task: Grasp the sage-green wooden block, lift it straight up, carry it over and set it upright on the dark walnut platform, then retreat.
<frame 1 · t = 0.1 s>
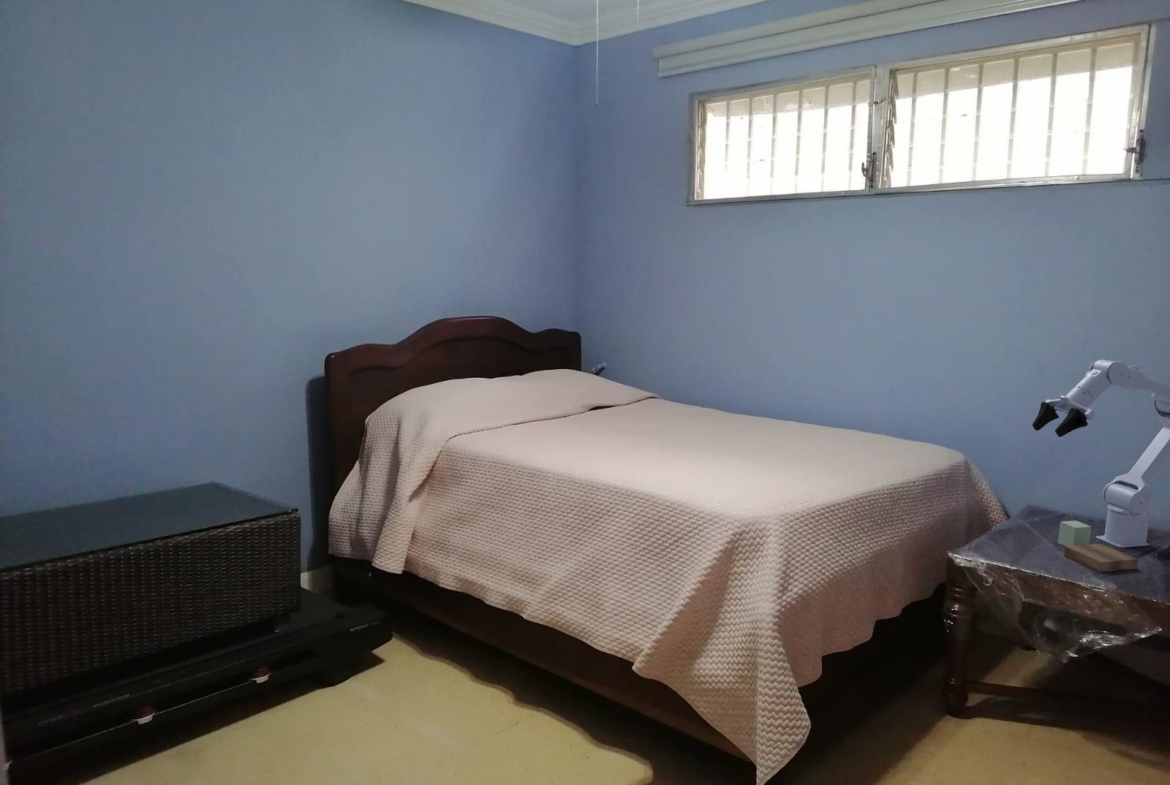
hand: (1045, 431, 209), 32 cm above the table, fingers open, 7 cm apart
walnut platform: (1099, 562, 205), on the table
green block: (1073, 545, 217), on the table
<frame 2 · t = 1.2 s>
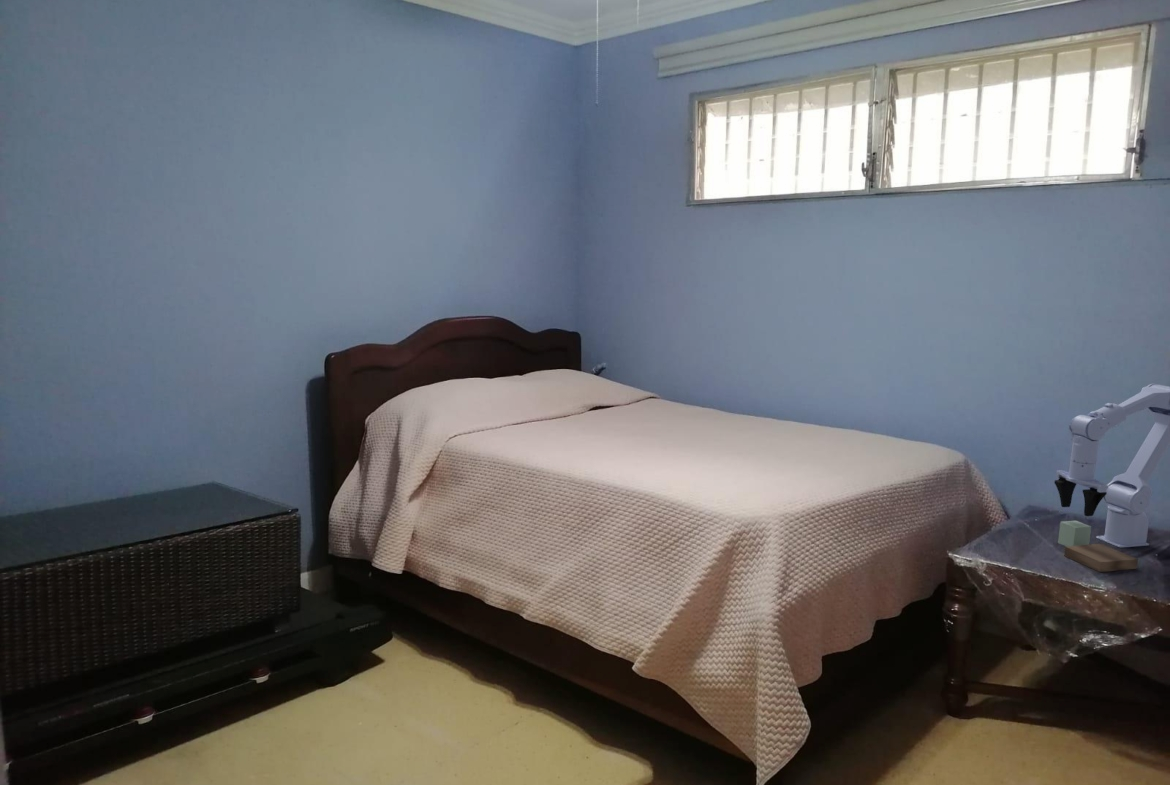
hand: (1076, 511, 215), 9 cm above the table, fingers open, 7 cm apart
nothing on the table moved.
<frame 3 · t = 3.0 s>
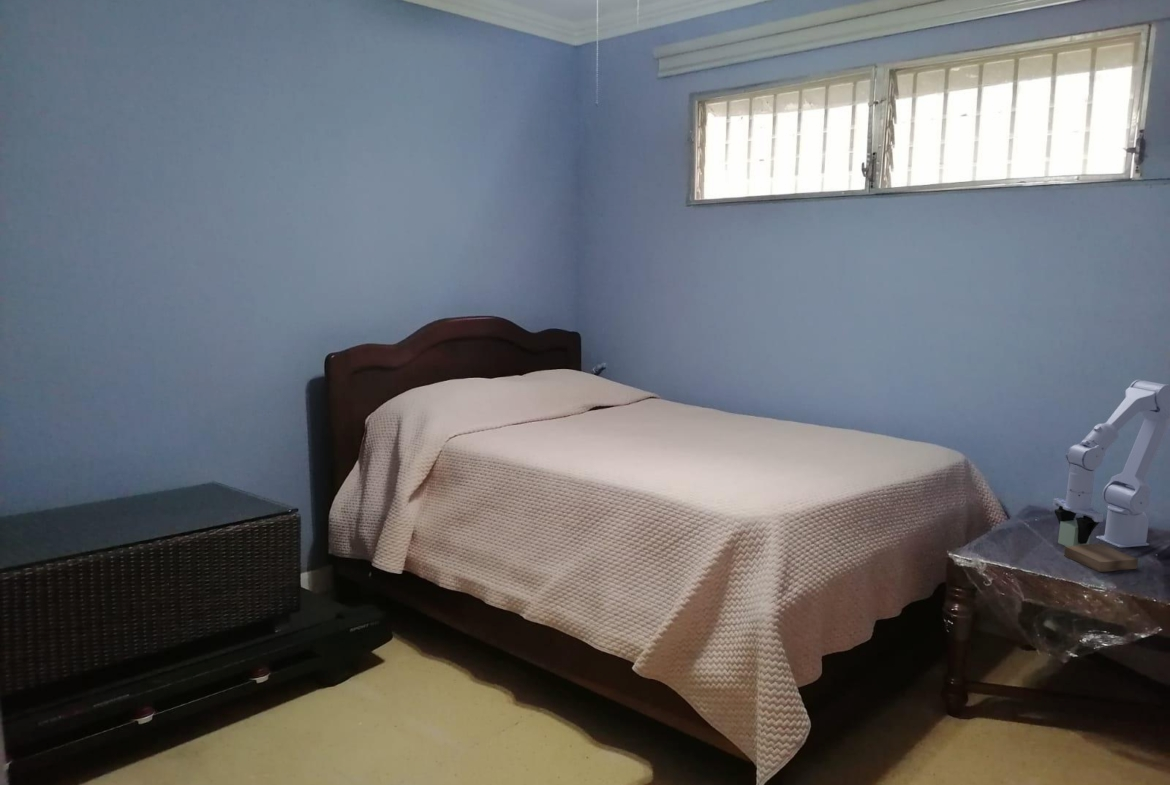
hand: (1073, 539, 216), 2 cm above the table, fingers closed on green block, 5 cm apart
green block: (1073, 545, 217), on the table, touching gripper
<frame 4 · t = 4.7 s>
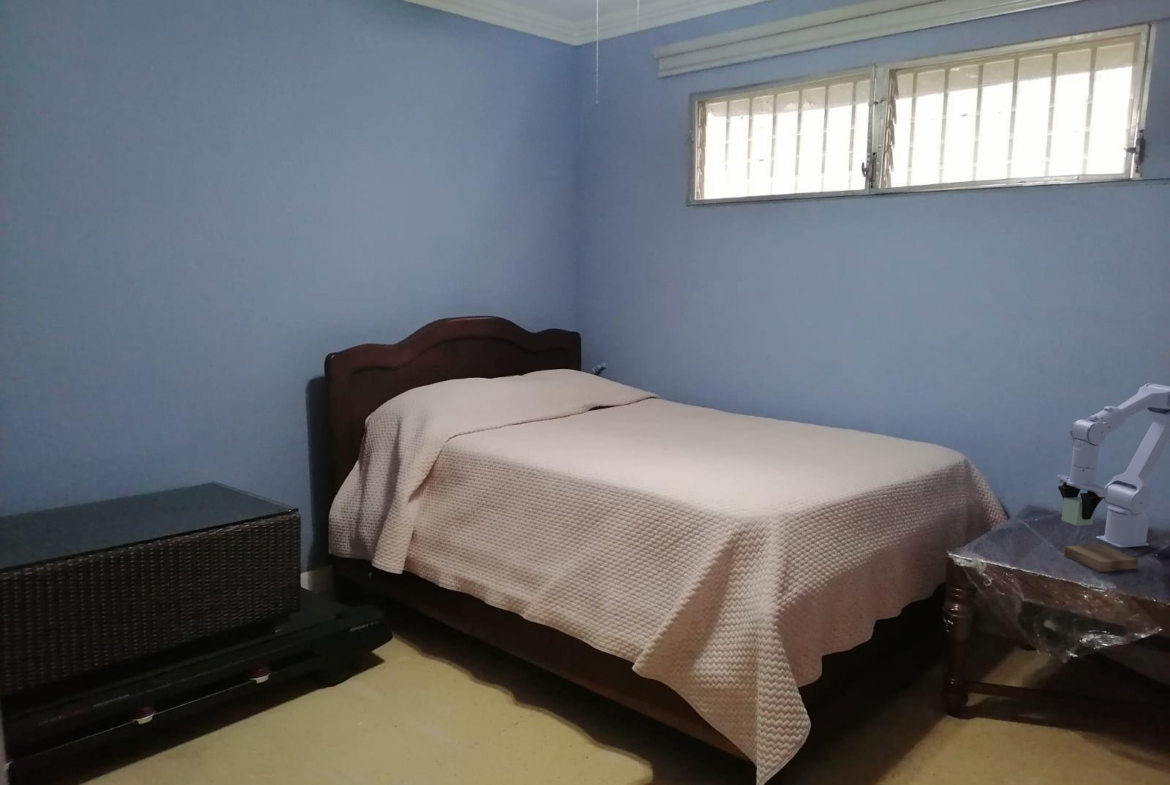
hand: (1077, 515, 215), 8 cm above the table, fingers closed on green block, 5 cm apart
green block: (1076, 522, 215), point 7 cm above the table, touching gripper
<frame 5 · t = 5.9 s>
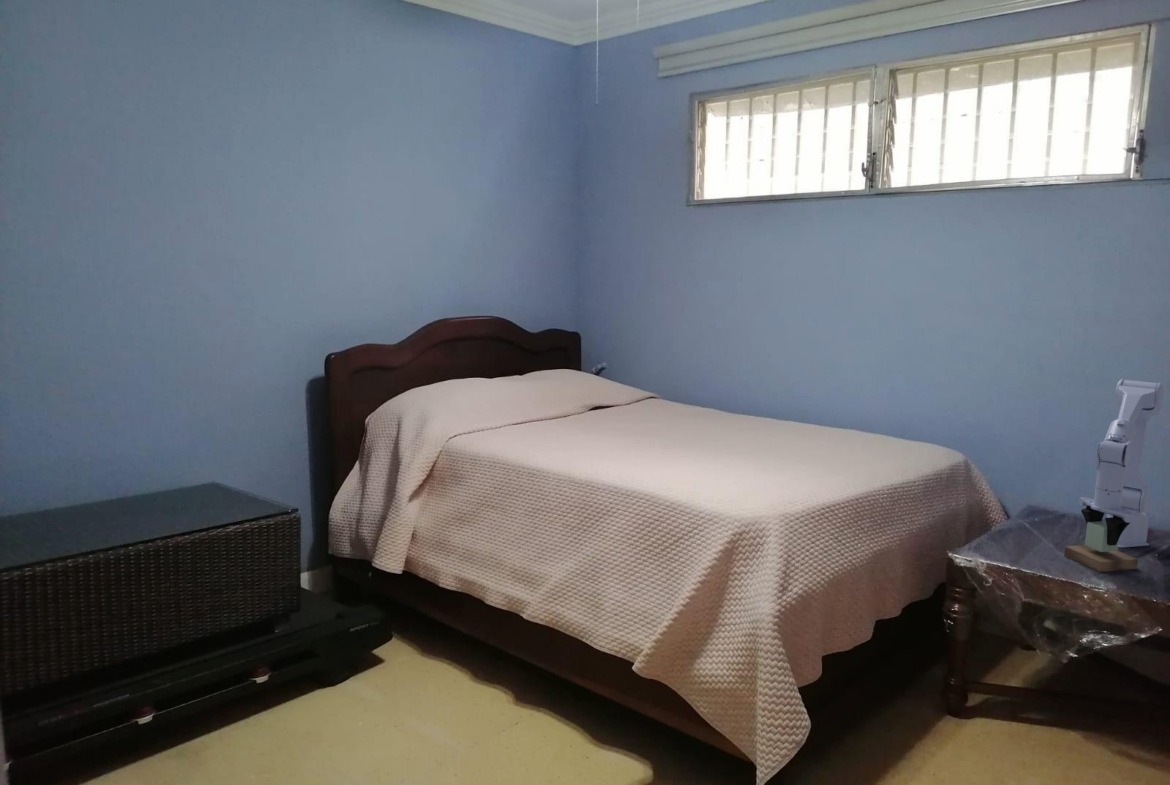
hand: (1102, 541, 204), 6 cm above the table, fingers closed on green block, 5 cm apart
green block: (1101, 547, 204), point 4 cm above the table, touching gripper
when the fingers open (5 cm above the table, at t = 6.5 s): green block stays where it is, resting on walnut platform.
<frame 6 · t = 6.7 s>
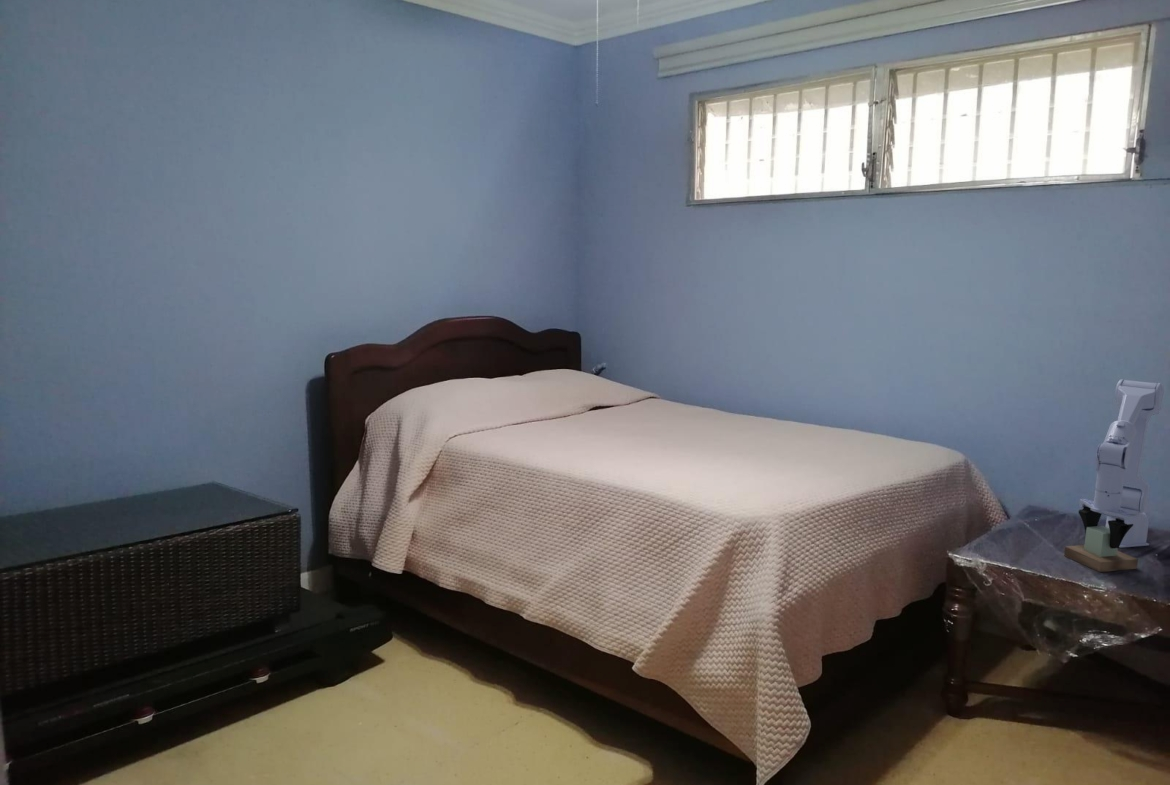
hand: (1102, 542, 204), 5 cm above the table, fingers open, 7 cm apart
green block: (1100, 552, 205), point 2 cm above the table, touching walnut platform
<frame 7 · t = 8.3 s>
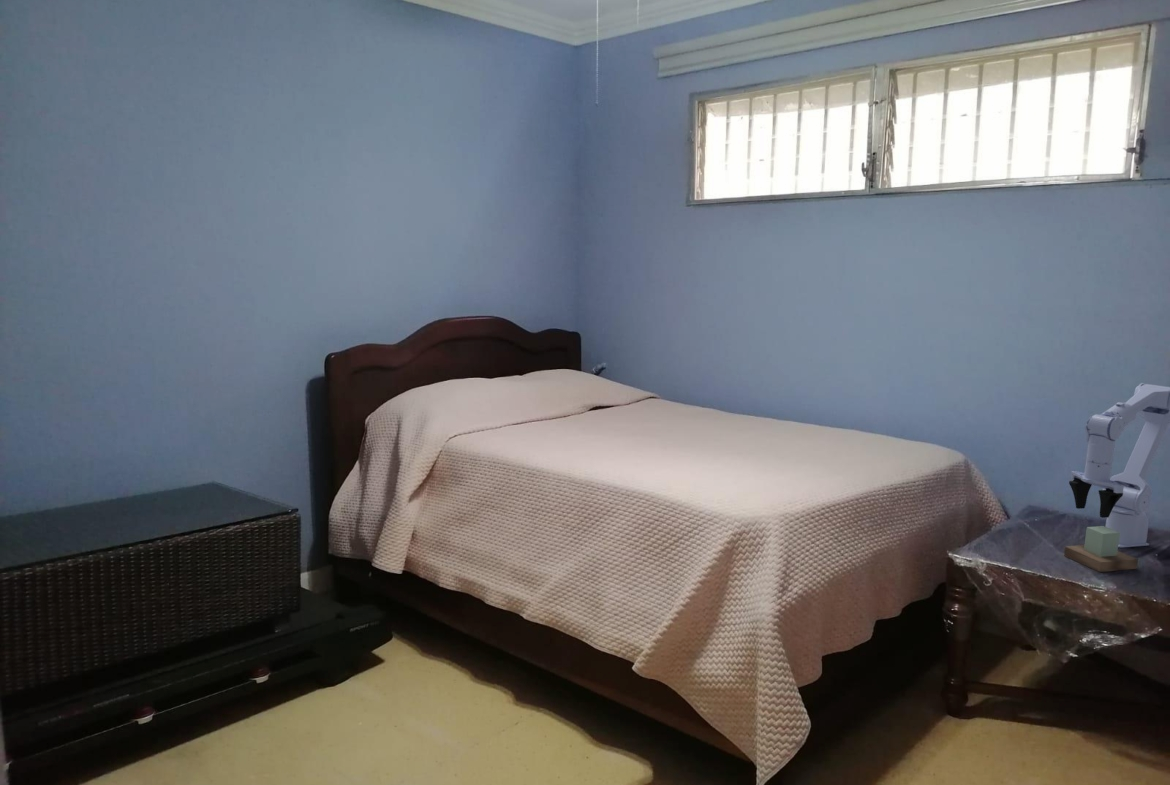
hand: (1092, 512, 211), 10 cm above the table, fingers open, 7 cm apart
nothing on the table moved.
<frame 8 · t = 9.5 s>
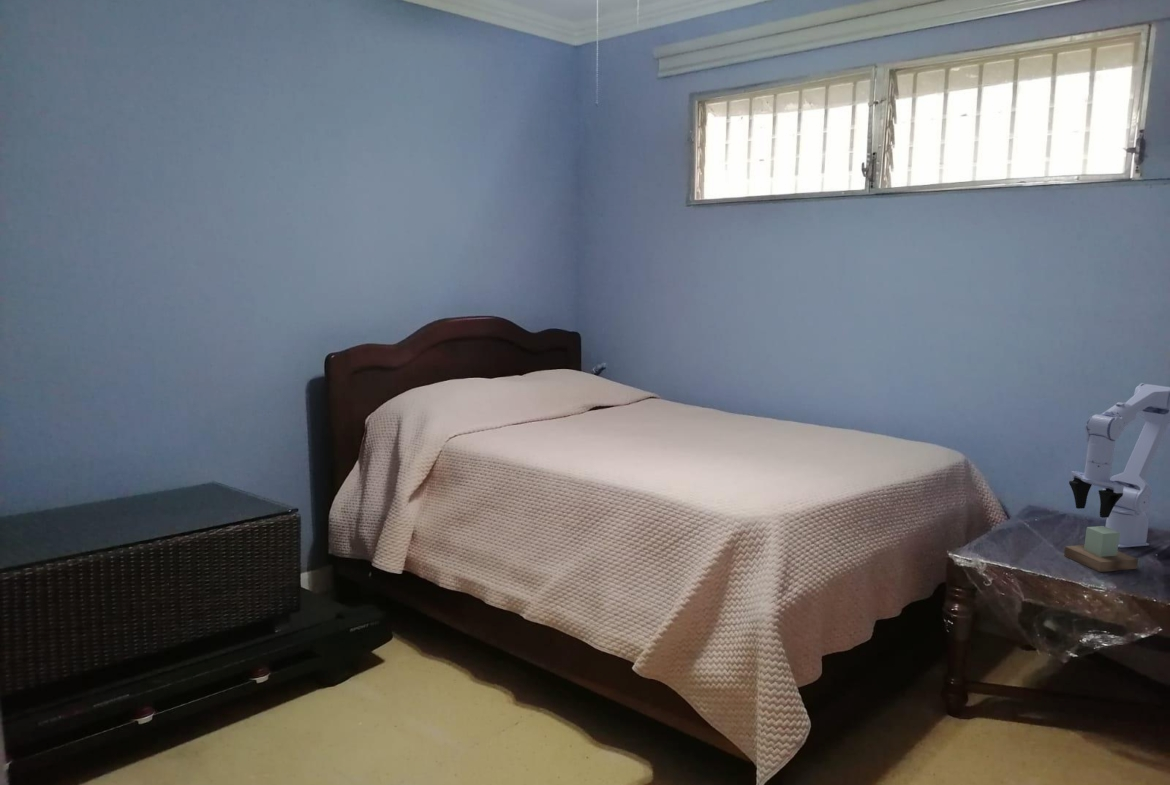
hand: (1092, 512, 211), 10 cm above the table, fingers open, 7 cm apart
nothing on the table moved.
at the end: green block inside the target area on the walnut platform (0.1 cm from its centre), point 2.5 cm above the walnut platform's base; green block tilted 0°; the gripper is holding nothing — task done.
